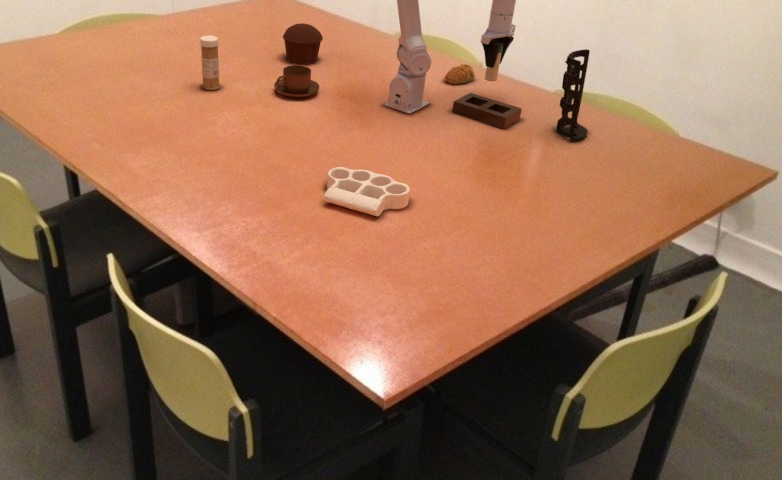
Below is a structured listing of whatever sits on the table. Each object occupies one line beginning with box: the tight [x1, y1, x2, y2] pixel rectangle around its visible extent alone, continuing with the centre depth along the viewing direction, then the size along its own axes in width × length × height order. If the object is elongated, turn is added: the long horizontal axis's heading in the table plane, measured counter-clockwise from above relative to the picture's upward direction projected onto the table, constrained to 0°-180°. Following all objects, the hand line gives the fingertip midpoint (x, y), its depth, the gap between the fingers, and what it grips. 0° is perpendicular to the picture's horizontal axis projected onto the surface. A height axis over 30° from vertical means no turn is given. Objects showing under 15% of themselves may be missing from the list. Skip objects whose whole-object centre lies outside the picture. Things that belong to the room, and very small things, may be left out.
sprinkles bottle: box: [199, 34, 220, 91], centre depth 202 cm, size 5×5×14 cm
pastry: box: [444, 63, 476, 85], centre depth 219 cm, size 9×7×4 cm
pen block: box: [451, 92, 523, 130], centre depth 199 cm, size 9×15×3 cm, turn 52°
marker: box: [484, 46, 503, 82], centre depth 203 cm, size 3×4×9 cm
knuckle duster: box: [323, 166, 411, 217], centre depth 159 cm, size 3×18×15 cm
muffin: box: [282, 22, 324, 65], centre depth 225 cm, size 12×11×10 cm
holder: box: [556, 48, 591, 143], centre depth 188 cm, size 11×8×20 cm
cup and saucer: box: [273, 64, 320, 98], centre depth 204 cm, size 12×12×6 cm
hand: (493, 65), depth 203 cm, fingers closed on marker, 3 cm apart
